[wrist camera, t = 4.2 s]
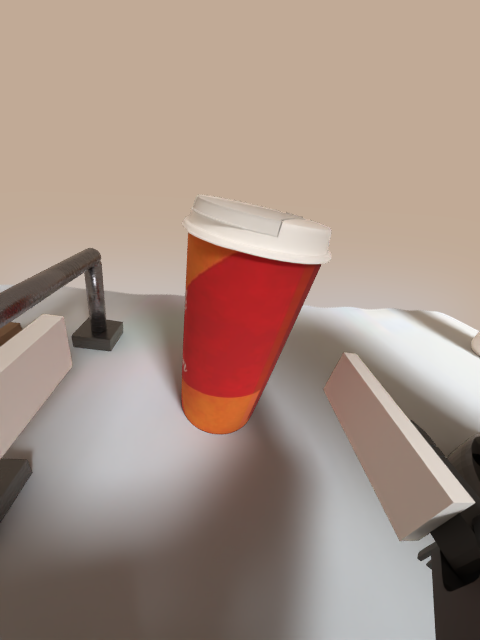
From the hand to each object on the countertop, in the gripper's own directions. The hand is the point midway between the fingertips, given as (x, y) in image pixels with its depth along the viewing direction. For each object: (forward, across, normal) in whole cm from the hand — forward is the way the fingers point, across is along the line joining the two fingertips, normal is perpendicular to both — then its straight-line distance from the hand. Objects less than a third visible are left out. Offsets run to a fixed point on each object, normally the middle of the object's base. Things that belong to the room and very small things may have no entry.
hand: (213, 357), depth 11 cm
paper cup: (+4, +1, -8) cm, 8 cm away
